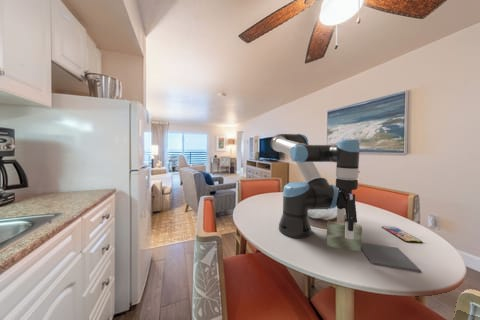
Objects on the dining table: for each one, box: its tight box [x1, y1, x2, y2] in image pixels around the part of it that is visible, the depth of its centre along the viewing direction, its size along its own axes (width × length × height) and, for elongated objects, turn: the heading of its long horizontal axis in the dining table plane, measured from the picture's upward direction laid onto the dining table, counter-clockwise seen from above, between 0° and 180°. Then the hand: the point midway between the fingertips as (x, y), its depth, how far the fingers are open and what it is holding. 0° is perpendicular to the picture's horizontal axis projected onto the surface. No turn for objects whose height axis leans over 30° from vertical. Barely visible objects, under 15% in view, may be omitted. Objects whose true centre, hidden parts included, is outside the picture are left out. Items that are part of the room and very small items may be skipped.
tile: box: [325, 220, 363, 252], centre depth 72 cm, size 12×2×10 cm, turn 73°
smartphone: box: [381, 225, 423, 244], centre depth 84 cm, size 7×1×15 cm
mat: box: [361, 241, 422, 273], centre depth 67 cm, size 14×14×1 cm
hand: (344, 230), depth 72 cm, fingers open, 13 cm apart
